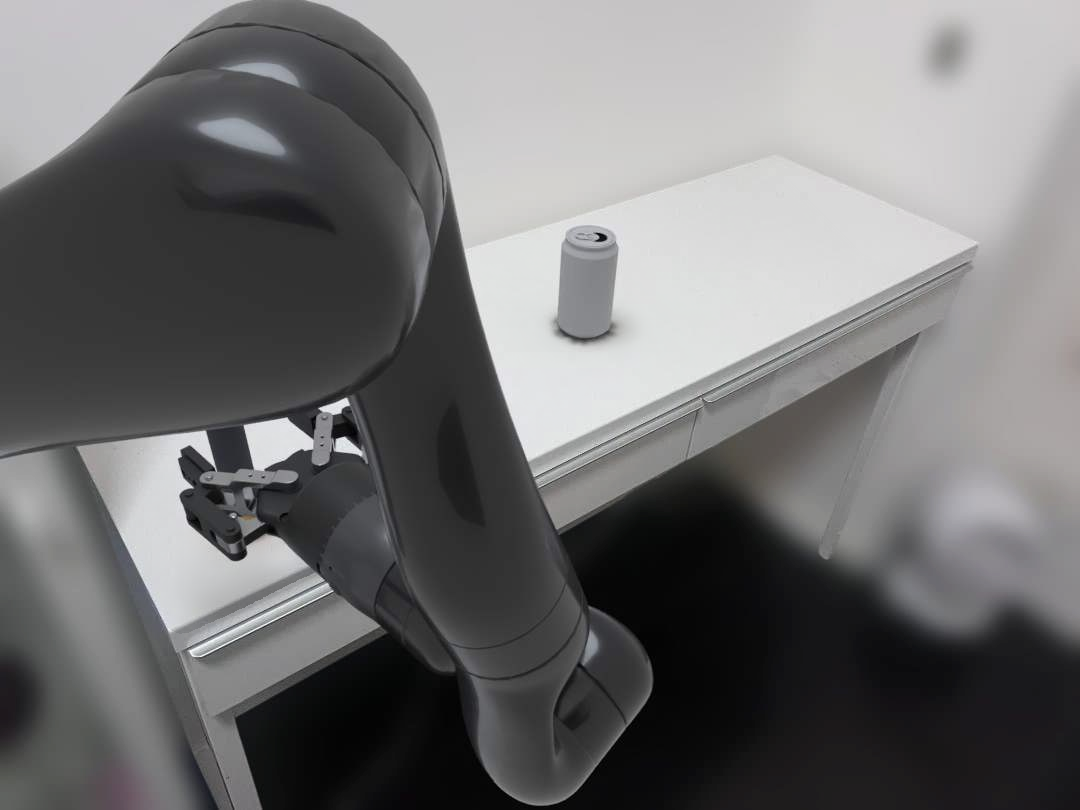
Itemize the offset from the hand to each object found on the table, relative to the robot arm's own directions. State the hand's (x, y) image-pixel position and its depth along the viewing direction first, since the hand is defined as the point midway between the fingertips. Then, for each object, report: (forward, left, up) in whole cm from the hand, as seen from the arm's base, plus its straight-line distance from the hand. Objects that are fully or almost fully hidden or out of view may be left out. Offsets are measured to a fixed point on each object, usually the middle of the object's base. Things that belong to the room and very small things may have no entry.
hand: (239, 430), depth 61 cm
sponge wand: (-2, +2, -11) cm, 12 cm away
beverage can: (+34, +30, -12) cm, 46 cm away
